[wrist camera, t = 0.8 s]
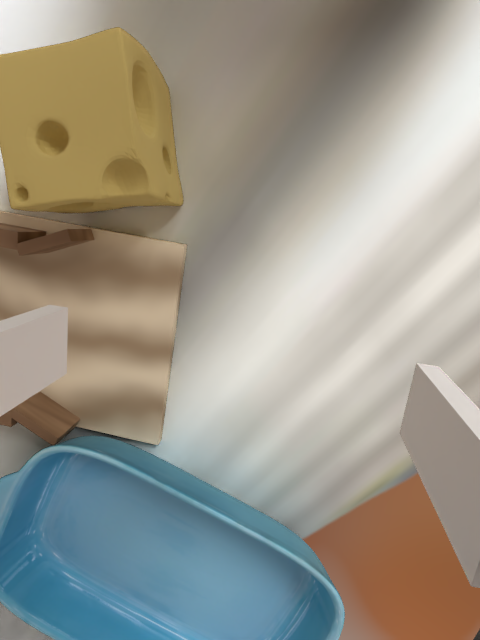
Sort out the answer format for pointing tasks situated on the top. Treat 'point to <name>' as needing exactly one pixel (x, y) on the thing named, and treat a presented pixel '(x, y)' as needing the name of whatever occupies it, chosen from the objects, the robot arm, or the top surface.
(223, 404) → the top surface
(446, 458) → the robot arm
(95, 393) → the slot board
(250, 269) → the top surface
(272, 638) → the casserole dish
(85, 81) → the cheese
